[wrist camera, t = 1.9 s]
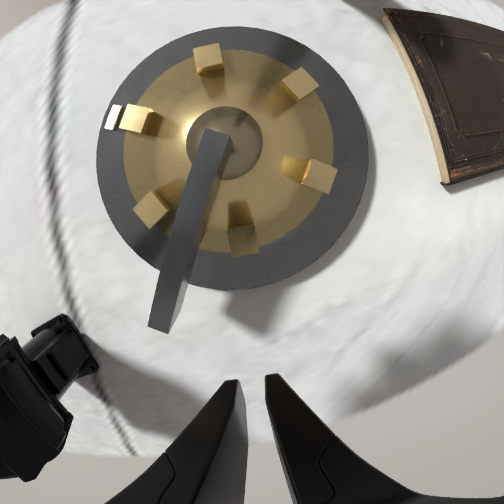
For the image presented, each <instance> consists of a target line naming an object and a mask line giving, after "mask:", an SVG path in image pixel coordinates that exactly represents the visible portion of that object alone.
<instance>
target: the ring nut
mask: <svg viewBox="0 0 504 504" xmlns="http://www.w3.org/2000/svg"><path fill="white" fill-rule="evenodd" d="M193 52H194V56H193V57H191V58H188V59H186V60H184V61H181V62H180V63H178V64H176V65H174V66H173V67H171V68H170V69H168V70H167V71H166V72H164V73H163V74H162V75H160V76H159V77H158V78H157V79H156V80H155V81H154V82H153V83H152V84H151V85H150V86H149V87H148V89H147V90H146V91H145V92H144V94H143V95H142V96H141V98H140V99H139V101H138V103H137V104H136V105H131V104H128V105H127V108H126V110H125V113H124V115H123V118H122V121H121V124H120V126H119V128H121V129H123V130H126V134H125V140H124V153H123V158H124V168H125V173H126V177H127V182H128V184H129V187H130V190H131V192H132V195H133V197H134V198H135V200H136V202H137V205H136V206H135V207H134V208H133V210H134V212H135V213H136V214H137V215H138V216H139V218H140V219H141V220H142V221H143V222H144V223H145V225H146V226H147V227H148V228H149V229H150V228H153V227H154V226H156V227H158V228H159V229H160V230H162V231H163V232H164V233H165V234H167V235H169V236H170V237H169V240H168V244H167V248H166V251H165V255H164V259H163V263H162V267H161V270H160V274H159V278H158V283H157V287H156V291H155V295H154V300H153V304H152V308H151V313H150V318H149V322H148V327H151V328H153V329H156V330H158V331H161V332H164V333H166V334H169V332H170V330H171V328H172V326H173V324H174V322H175V320H176V318H177V316H178V314H179V313H180V310H181V307H182V303H183V300H184V296H185V293H186V289H187V286H188V282H189V279H190V275H191V272H192V269H193V265H194V262H195V259H196V255H197V252H198V249H202V250H208V251H215V252H231V255H232V257H238V256H243V255H249V254H254V253H259V247H260V246H263V245H265V244H268V243H270V242H273V241H275V240H276V239H278V238H280V237H282V236H284V235H285V234H287V233H288V232H290V231H291V230H292V229H294V228H295V227H296V226H297V225H298V224H300V223H301V222H302V221H303V220H304V219H305V218H306V217H307V216H308V214H309V213H310V212H311V211H312V209H313V208H314V207H315V206H316V204H317V202H318V201H319V199H320V197H321V196H322V194H328V195H329V192H330V190H331V187H332V184H333V181H334V178H335V175H336V173H337V170H338V169H336V168H334V167H332V162H333V155H334V144H333V134H332V128H331V124H330V121H329V117H328V114H327V112H326V110H325V108H324V105H323V103H322V101H321V100H320V98H319V97H318V95H317V93H316V92H315V91H316V90H317V88H318V87H319V84H318V83H317V82H316V81H315V80H314V79H313V78H312V77H311V76H310V75H309V74H308V73H307V72H306V71H305V70H304V69H303V68H302V67H300V68H299V69H297V70H296V71H294V70H293V69H292V68H290V67H289V66H287V65H286V64H284V63H282V62H280V61H278V60H276V59H274V58H271V57H269V56H266V55H263V54H260V53H255V52H251V51H244V50H220V46H219V43H215V44H211V45H206V46H201V47H197V48H193Z"/></svg>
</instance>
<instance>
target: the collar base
mask: <svg viewBox="0 0 504 504" xmlns="http://www.w3.org/2000/svg"><path fill="white" fill-rule="evenodd" d="M215 43H219V46H220V50H244V51H251V52H255V53H260V54H263V55H266V56H269V57H271V58H274V59H276V60H278V61H280V62H282V63H284V64H286V65H287V66H289V67H290V68H292V69H293V70H294V71H296V70H297V69H299V68H300V67H302V68H303V69H304V70H305V71H306V72H307V73H308V74H309V75H310V76H311V77H312V78H313V79H314V80H315V81H316V82H317V83H318V84H319V87H318V88H317V90H316V91H315V92H316V93H317V95H318V97H319V98H320V100H321V101H322V103H323V105H324V108H325V110H326V112H327V114H328V117H329V121H330V124H331V128H332V134H333V144H334V155H333V162H332V167H334V168H336V169H338V170H337V173H336V175H335V178H334V181H333V184H332V187H331V190H330V192H329V195H328V194H322V196H321V197H320V199H319V201H318V202H317V204H316V206H315V207H314V208H313V209H312V211H311V212H310V213H309V214H308V216H307V217H306V218H305V219H304V220H303V221H302V222H301V223H300V224H298V225H297V226H296V227H295V228H294V229H292V230H291V231H290V232H288V233H287V234H285V235H284V236H282V237H280V238H278V239H276V240H275V241H273V242H270V243H268V244H265V245H263V246H260V247H259V253H254V254H249V255H243V256H238V257H232V255H231V252H215V251H208V250H202V249H198V252H197V255H196V259H195V262H194V265H193V269H192V272H191V275H190V279H189V282H188V284H192V285H195V286H199V287H205V288H211V289H220V290H239V289H248V288H255V287H259V286H263V285H267V284H272V283H274V282H277V281H279V280H282V279H285V278H287V277H290V276H291V275H293V274H295V273H297V272H299V271H301V270H302V269H304V268H306V267H307V266H309V265H310V264H311V263H313V262H314V261H316V260H317V259H318V258H320V257H321V256H322V255H323V254H324V253H325V252H326V251H327V250H328V249H329V248H330V247H331V246H332V245H333V244H334V243H335V242H336V241H337V239H338V238H339V237H340V236H341V234H342V233H343V232H344V231H345V229H346V227H347V226H348V224H349V223H350V221H351V219H352V218H353V216H354V214H355V212H356V209H357V207H358V205H359V202H360V200H361V197H362V194H363V190H364V186H365V183H366V177H367V170H368V141H367V135H366V128H365V125H364V121H363V118H362V114H361V111H360V109H359V107H358V105H357V102H356V100H355V98H354V96H353V94H352V93H351V91H350V89H349V88H348V86H347V85H346V83H345V81H344V80H343V79H342V78H341V77H340V75H339V74H338V73H337V72H336V71H335V69H334V68H333V67H332V66H331V65H330V64H329V63H327V62H326V61H325V60H324V59H323V58H322V57H321V56H320V55H318V54H317V53H315V52H314V51H312V50H311V49H310V48H308V47H307V46H305V45H303V44H301V43H299V42H297V41H295V40H293V39H291V38H289V37H286V36H284V35H281V34H278V33H275V32H272V31H268V30H263V29H259V28H251V27H240V26H239V27H219V28H212V29H206V30H202V31H198V32H195V33H191V34H188V35H185V36H183V37H181V38H178V39H176V40H174V41H171V42H170V43H168V44H166V45H164V46H163V47H161V48H159V49H158V50H156V51H155V52H153V53H152V54H151V55H149V56H148V57H147V58H146V59H144V60H143V61H142V62H141V63H140V64H139V65H138V66H137V67H136V68H135V69H134V70H133V71H132V72H131V73H130V74H129V75H128V76H127V78H126V79H125V80H124V82H123V83H122V84H121V85H120V87H119V88H118V90H117V92H116V93H115V95H114V97H113V98H112V100H111V102H110V104H109V106H108V109H107V111H106V113H105V116H104V119H103V122H102V125H101V129H100V132H99V138H98V144H97V159H96V167H97V177H98V184H99V188H100V193H101V197H102V200H103V203H104V205H105V208H106V210H107V213H108V215H109V217H110V219H111V221H112V223H113V224H114V226H115V228H116V230H117V231H118V232H119V234H120V235H121V236H122V238H123V239H124V240H125V242H126V243H127V244H128V245H129V246H130V247H131V248H132V249H133V250H134V251H135V252H136V253H137V255H139V256H140V257H141V258H142V259H144V260H145V261H146V262H147V263H149V264H150V265H151V266H153V267H154V268H156V269H158V270H159V271H160V270H161V267H162V263H163V259H164V255H165V251H166V248H167V244H168V240H169V237H170V236H169V235H167V234H165V233H164V232H163V231H162V230H160V229H159V228H158V227H156V226H154V227H153V228H150V229H149V228H148V227H147V226H146V225H145V223H144V222H143V221H142V220H141V219H140V218H139V216H138V215H137V214H136V213H135V212H134V210H133V208H134V207H135V206H136V205H137V202H136V200H135V198H134V197H133V195H132V192H131V190H130V187H129V184H128V182H127V177H126V173H125V168H124V158H123V153H124V140H125V134H126V130H123V129H121V128H119V126H120V124H121V121H122V118H123V115H124V113H125V110H126V108H127V105H128V104H131V105H136V104H137V103H138V101H139V99H140V98H141V96H142V95H143V94H144V92H145V91H146V90H147V89H148V87H149V86H150V85H151V84H152V83H153V82H154V81H155V80H156V79H157V78H158V77H159V76H160V75H162V74H163V73H164V72H166V71H167V70H168V69H170V68H171V67H173V66H174V65H176V64H178V63H180V62H181V61H184V60H186V59H188V58H191V57H193V56H194V52H193V48H197V47H201V46H206V45H211V44H215Z"/></svg>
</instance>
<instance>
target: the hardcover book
mask: <svg viewBox="0 0 504 504" xmlns="http://www.w3.org/2000/svg"><path fill="white" fill-rule="evenodd" d="M383 10H384V12H385V14H386V16H382V19H381V21H382V22H383V24H384V26H385V28H386V30H387V31H388V33H389V35H390V37H391V39H392V41H393V43H394V45H395V47H396V49H397V51H398V53H399V55H400V57H401V59H402V61H403V63H404V66H405V68H406V70H407V72H408V75H409V77H410V79H411V82H412V84H413V87H414V89H415V92H416V94H417V97H418V100H419V102H420V105H421V108H422V111H423V114H424V117H425V120H426V123H427V126H428V129H429V132H430V136H431V139H432V142H433V146H434V150H435V154H436V157H437V161H438V166H439V170H440V174H441V179H442V182H440V183H441V184H442V185H452V184H455V183H458V182H461V181H465V180H468V179H471V178H474V177H477V176H481V175H484V174H487V173H490V172H494V171H497V170H500V169H503V168H504V31H501V30H498V29H495V28H492V27H489V26H486V25H483V24H479V23H476V22H472V21H468V20H464V19H460V18H455V17H451V16H446V15H441V14H435V13H429V12H422V11H414V10H405V9H394V8H383Z"/></svg>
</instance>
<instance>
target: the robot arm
mask: <svg viewBox="0 0 504 504" xmlns="http://www.w3.org/2000/svg"><path fill="white" fill-rule="evenodd" d="M61 318H62V319H63V320H62V319H61ZM31 335H32V337H33V339H31V340H30V341H29V342H28V343H27V344H25V345H24V346H23V347H22V348H21V347H20V345H19V343H18V340H17V338H16V337H15V336H14V337H13V338H11V339H9V337H6V336H5V335H4V334H2V335H0V479H9V478H16V477H19V478H20V479H21V480H22V481H24V482H28V481H31V480H34V479H36V477H37V476H38V474H39V473H40V471H41V470H42V468H43V467H44V465H45V464H46V463H47V462H49V461H51V460H53V459H54V458H55V457H56V456H58V455H59V453H60V452H61V451H62V449H63V447H64V445H65V442H66V439H67V436H68V432H69V429H70V426H71V423H72V420H73V417H74V416H73V415H72V414H71V413H70V412H68V411H67V410H66V408H65V407H64V406H63V405H62V404H61V402H60V401H59V400H60V399H61V397H62V396H63V395H64V393H65V392H66V391H67V389H68V388H69V387H70V386H71V384H72V383H73V382H74V381H75V379H76V378H79V377H82V376H85V375H89V374H92V373H95V372H97V371H98V369H99V366H98V364H97V363H96V362H95V360H94V359H93V357H92V356H91V354H90V353H89V352H88V350H87V349H86V347H85V346H84V344H83V343H82V341H81V340H80V338H79V337H78V335H77V334H76V332H75V330H74V329H73V327H72V326H71V324H70V322H69V321H68V319H67V317H66V316H65V315H64V314H60V315H58V316H56V317H54V318H53V319H51V320H49V321H47V322H46V323H44V324H42V325H41V326H39V327H37V328H35V329H34V330H32V331H31ZM94 367H95V368H94ZM265 400H266V406H267V410H268V414H269V418H270V422H271V426H272V430H273V435H274V439H275V443H276V447H277V450H278V454H279V457H280V461H281V464H282V467H283V471H284V474H285V478H286V481H287V484H288V488H289V491H290V494H291V498H292V501H293V504H504V496H501V497H495V498H451V497H438V496H429V495H423V494H420V493H417V492H414V491H412V490H410V489H408V488H406V487H404V486H403V485H401V484H399V483H398V482H396V481H395V480H393V479H391V478H390V477H388V476H386V475H385V474H384V473H382V472H381V471H379V470H378V469H376V468H375V467H373V466H372V465H370V464H369V463H367V462H366V461H365V460H363V459H362V458H361V457H359V456H358V455H357V454H356V453H354V452H353V451H352V450H351V449H350V448H349V447H348V446H347V445H346V444H344V443H343V442H342V440H341V439H340V438H339V437H338V436H335V434H334V433H333V432H332V431H331V430H330V428H329V427H328V426H327V425H326V424H325V423H324V422H323V421H322V420H321V419H320V418H319V417H318V416H317V415H316V414H315V413H314V412H313V411H312V410H311V409H310V408H309V406H308V405H307V404H306V403H305V402H304V401H303V400H302V399H301V398H300V397H299V396H298V395H297V393H296V392H295V391H294V390H293V389H292V388H291V387H290V386H289V385H288V384H287V382H286V381H285V380H284V379H283V378H282V377H281V376H280V375H279V374H278V373H276V374H270V375H266V376H265ZM165 452H166V453H165ZM165 452H164V453H163V454H162V455H161V456H160V457H159V458H158V459H157V460H156V461H155V462H154V463H153V464H152V465H151V466H150V467H149V468H148V469H147V470H146V471H145V472H144V473H143V474H142V475H140V476H139V477H138V478H137V479H136V480H135V481H133V482H132V483H131V484H130V485H128V486H127V487H126V488H125V489H124V490H122V491H121V492H120V493H118V494H117V495H116V496H114V497H113V498H112V499H110V500H109V501H108V502H106V503H105V504H244V495H245V481H246V468H247V456H248V433H247V419H246V404H245V398H244V395H243V392H242V388H241V385H240V382H239V380H237V379H235V380H227V381H225V382H224V383H223V384H222V385H221V386H220V388H219V389H218V390H217V391H216V392H215V394H214V395H213V396H212V397H211V399H210V400H209V401H208V402H207V403H206V405H205V406H204V407H203V408H202V409H201V410H200V412H199V413H198V414H197V415H196V416H195V418H194V419H193V420H192V421H191V422H190V423H189V424H188V426H187V427H186V428H185V429H184V430H183V431H182V433H181V434H180V435H179V436H178V437H177V438H176V439H175V440H174V442H173V443H172V444H171V445H170V446H169V447H168V448H167V449H166V450H165Z"/></svg>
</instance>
